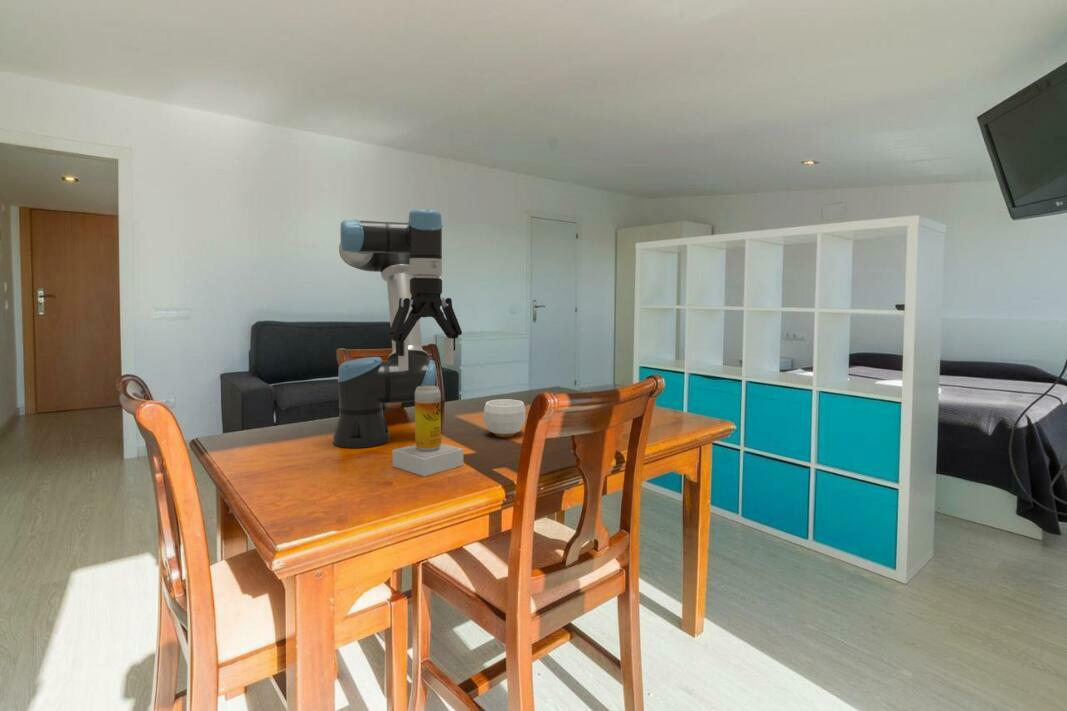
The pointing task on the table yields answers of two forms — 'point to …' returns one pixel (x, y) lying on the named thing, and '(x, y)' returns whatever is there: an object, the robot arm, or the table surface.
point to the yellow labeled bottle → (427, 418)
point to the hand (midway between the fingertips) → (426, 367)
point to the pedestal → (427, 459)
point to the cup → (504, 416)
